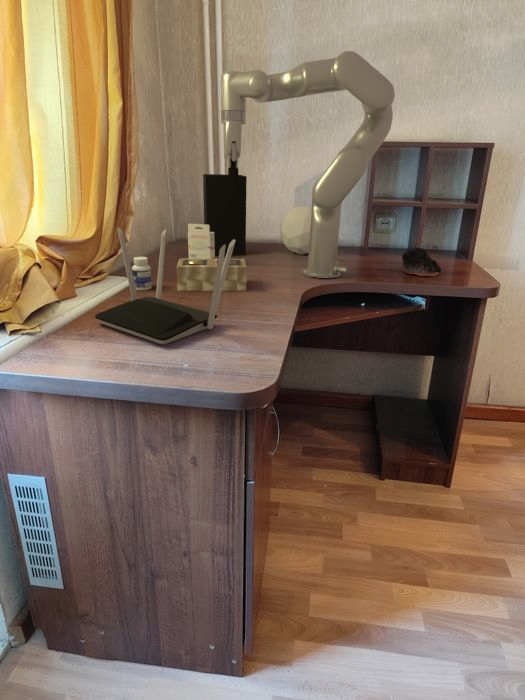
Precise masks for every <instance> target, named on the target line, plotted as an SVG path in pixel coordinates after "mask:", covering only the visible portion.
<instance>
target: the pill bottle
mask: <svg viewBox="0 0 525 700" xmlns="http://www.w3.org/2000/svg"><path fill="white" fill-rule="evenodd" d="M148 263H149V260H148V257H146V256H135V257H133V264H134V265H132V266H131V270H132V274H133V279H134V283H135V287H136V291H148V290H150V289H152V288H153V286H152V284H153V283H152V269H151V268H152V267H151V266H150V265H149V264H148Z"/></svg>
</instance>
